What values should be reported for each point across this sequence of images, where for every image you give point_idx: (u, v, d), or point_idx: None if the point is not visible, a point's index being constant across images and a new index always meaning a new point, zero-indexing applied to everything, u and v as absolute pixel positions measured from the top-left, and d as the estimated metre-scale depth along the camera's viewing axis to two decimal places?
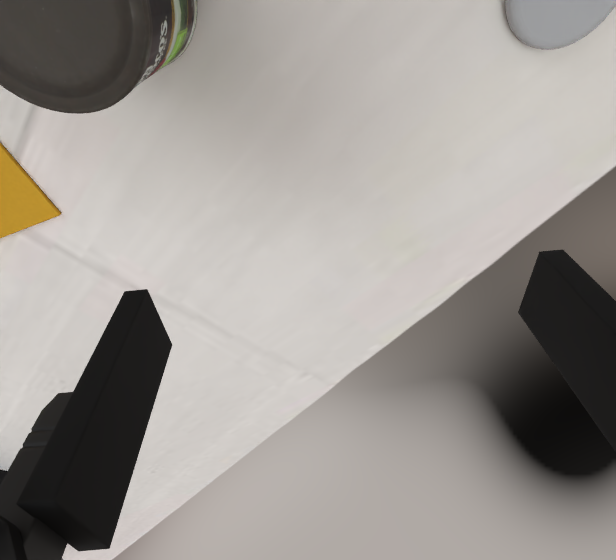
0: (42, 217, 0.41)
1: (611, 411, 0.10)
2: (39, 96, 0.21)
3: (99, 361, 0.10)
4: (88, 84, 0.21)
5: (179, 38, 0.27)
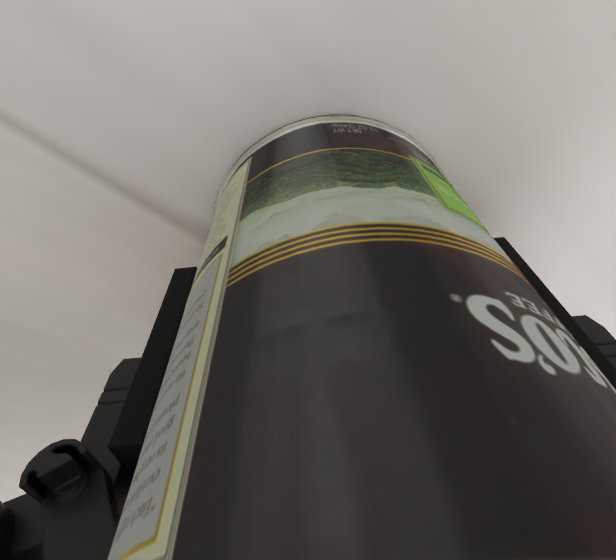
0: None
1: None
2: None
3: (162, 329, 0.11)
4: None
5: (445, 194, 0.10)
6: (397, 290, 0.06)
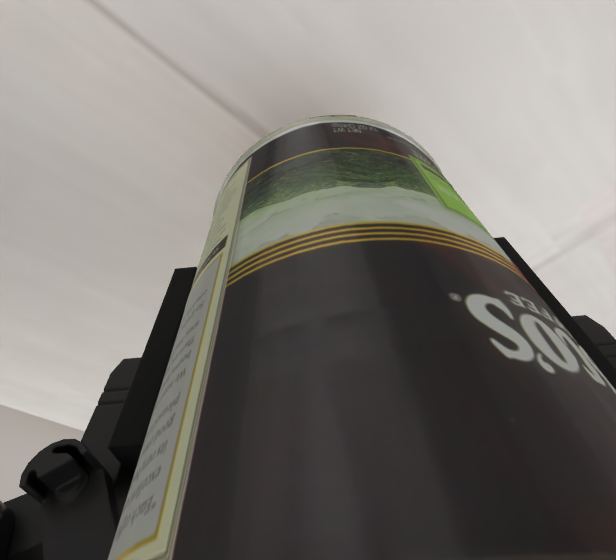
0: None
1: None
2: None
3: (162, 329, 0.11)
4: None
5: (445, 193, 0.10)
6: (397, 288, 0.06)
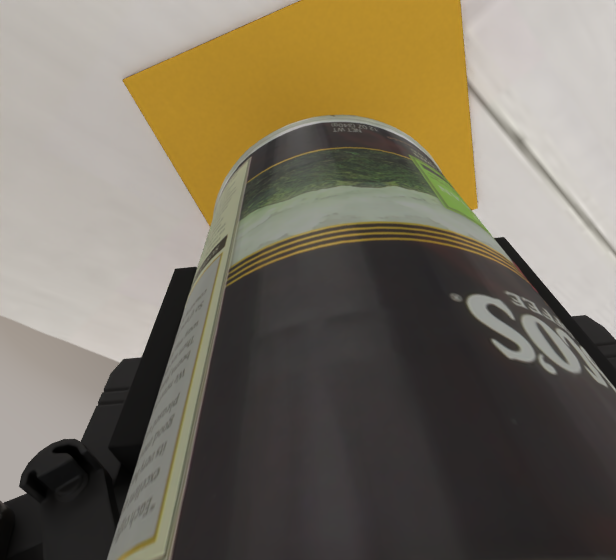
0: None
1: None
2: None
3: (162, 329, 0.11)
4: None
5: (445, 193, 0.10)
6: (398, 288, 0.06)
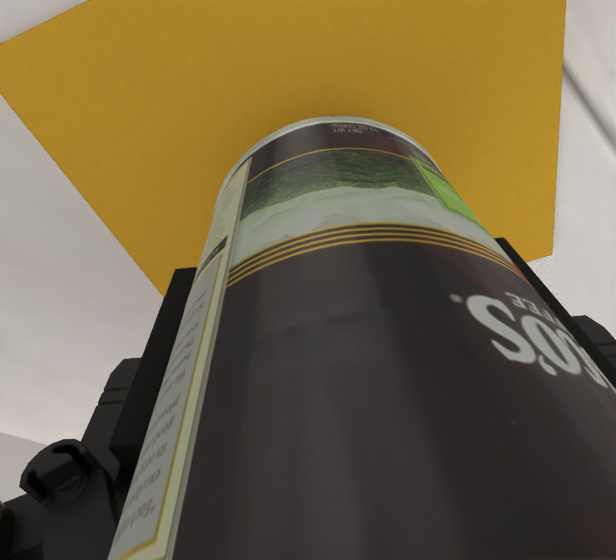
0: None
1: None
2: None
3: (162, 329, 0.11)
4: None
5: (445, 194, 0.10)
6: (397, 290, 0.06)
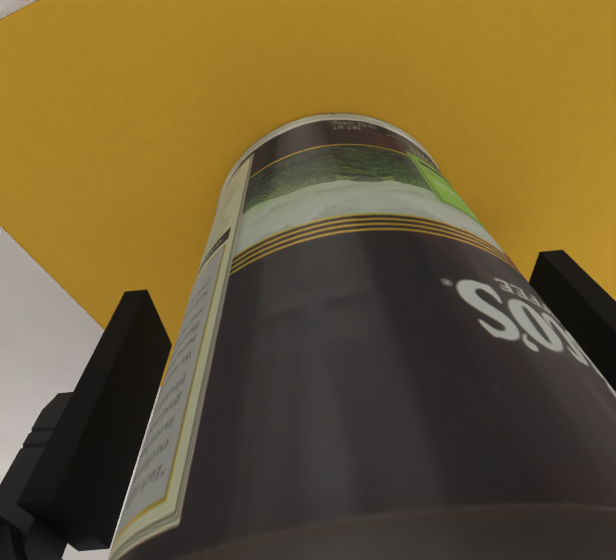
0: None
1: None
2: None
3: (99, 361, 0.10)
4: None
5: (441, 188, 0.10)
6: (392, 274, 0.06)
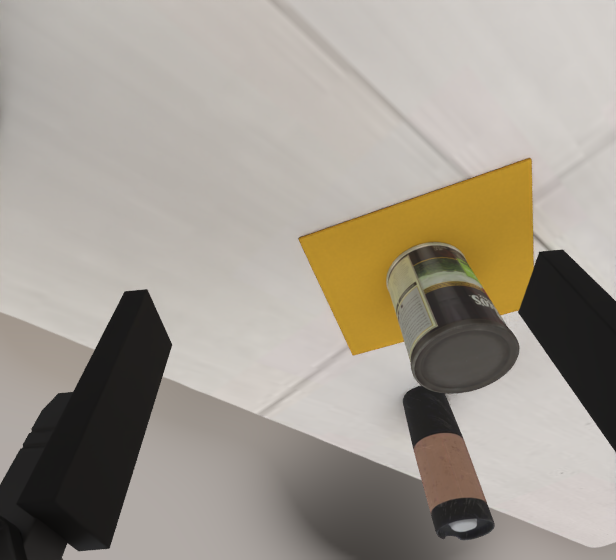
0: (527, 176, 0.41)
1: (611, 411, 0.10)
2: (502, 371, 0.39)
3: (99, 361, 0.10)
4: (504, 352, 0.37)
5: (467, 271, 0.42)
6: (460, 294, 0.38)
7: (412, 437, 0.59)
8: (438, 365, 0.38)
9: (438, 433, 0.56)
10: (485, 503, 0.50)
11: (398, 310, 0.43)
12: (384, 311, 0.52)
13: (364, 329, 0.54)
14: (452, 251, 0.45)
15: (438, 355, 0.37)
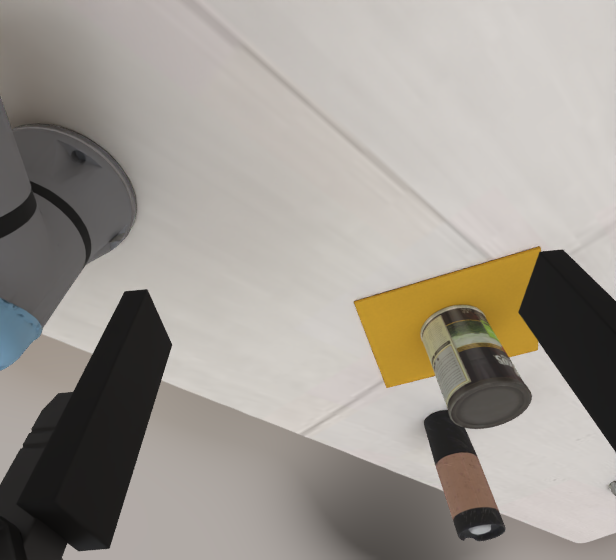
0: None
1: (611, 411, 0.10)
2: (517, 413, 0.50)
3: (99, 361, 0.10)
4: (520, 400, 0.49)
5: (489, 332, 0.53)
6: (486, 354, 0.49)
7: (434, 455, 0.71)
8: (469, 409, 0.49)
9: (458, 453, 0.68)
10: (498, 511, 0.62)
11: (434, 361, 0.54)
12: (416, 354, 0.64)
13: (398, 368, 0.65)
14: (476, 313, 0.56)
15: (470, 402, 0.48)
